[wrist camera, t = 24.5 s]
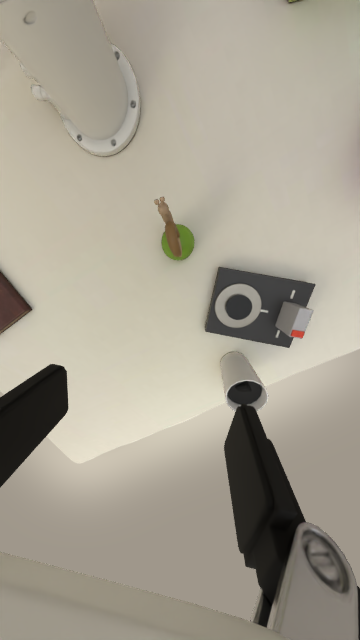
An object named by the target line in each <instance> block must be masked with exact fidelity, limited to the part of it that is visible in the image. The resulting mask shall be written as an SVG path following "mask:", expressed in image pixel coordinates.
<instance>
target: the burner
mask: <svg viewBox="0 0 360 640" xmlns="http://www.w3.org/2000/svg"><path fill="white" fill-rule="evenodd" d="M260 310H261V298H260V295H259V294H258V292H257V291H256V290H255V289H254V288H253V287H251V286H249V285H246V284H241V283H237V284H232V285H229V286H227V287H226V288H224V289H223V290H222V291H221V292H220V293H219V295H218V296H217V298H216V301H215V313H216V315H217V317H218V319H219V320H220V321H221V322H222V323H223V324H224V325H226V326H229V327H232V328H241V327H244V326H247V325H249V324H251V323H252V322H253V321H254V320H255V319H256V318H257V317H258V315H259V313H260Z"/></svg>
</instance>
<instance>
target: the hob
mask: <svg viewBox="0 0 360 640" xmlns="http://www.w3.org/2000/svg"><path fill="white" fill-rule="evenodd" d="M237 283H241V284H246V285H249V286H251V287H253V288H254V289H255V290H256V291H257V292H258V294H259V295H260V298H261V310H260V313H259V315H258V317H257V318H256V319H255V320H254V321H253V322H252V323H251V324H249V325H247V326H244V327H241V328H232V327H229V326H226V325H224V324H223V323H222V322H221V321H220V320H219V319H218V317H217V315H216V313H215V301H216V298H217V296H218V295H219V293H220V292H221V291H222V290H223V289H224V288H226V287H227V286H229V285H232V284H237ZM314 287H315V284H312V283H307V282H301V281H295V280H290V279H284V278H279V277H273V276H267V275H262V274H256V273H250V272H245V271H239V270H233V269H228V268H222V267H219V268H218V272H217V277H216V281H215V285H214V290H213V294H212V298H211V303H210V307H209V312H208V316H207V320H206V325H205V331H206V332H210V333H215V334H221V335H226V336H231V337H236V338H241V339H246V340H251V341H257V342H262V343H267V344H272V345H277V346H282V347H287V348H289V347H290V345H291V342H292V340H293V338H294V337H289V336H288V335H286V334H285V333H284V332H283V331H281V330H280V329H279V328H277V327H276V326H275V325H276V322H277V319H278V316H279V313H280V311H281V308H282V305H283V302H290V303H295V304H298V305H301V306H303V307H306V306H307V304H308V301H309V299H310V296H311V294H312V292H313V289H314ZM309 321H310V320H309Z"/></svg>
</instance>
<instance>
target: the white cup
mask: <svg viewBox="0 0 360 640" xmlns="http://www.w3.org/2000/svg"><path fill="white" fill-rule="evenodd" d="M220 366H221V373H222V379H223V386H224V393H225V399H226V402H227V405H228V406H229V407H230V408H231V409H232V410H234V411H236V409H237V407H238V406H241V405H242V404H245V405H249V406H253V407H254V408H255V409H256V412H257V411H258V410H260V409H262V408H263V407H264V405H265V404H266V403H267V399H268V393H267V390H266V388H265V387H264V385H263V383H262V382H261V380H260V379H259V377H258V376H257V374H256V372H255V371H254V369H253V368H252V366H251V365H250V363H249V362H248V360H247V358H246V357H245V356H244V355H243V354H241V353H239V352H231V353H227V354H226V355H225V356H223V358H222V359H221V363H220Z"/></svg>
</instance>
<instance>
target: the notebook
mask: <svg viewBox="0 0 360 640" xmlns="http://www.w3.org/2000/svg"><path fill="white" fill-rule="evenodd" d="M31 310H32V309H31V308H30V307H29V306H28V304H27V303H26V302H25V301H24V300H23V298H22V297H21V296H20V295H19V294H18V292H17V291H16V290H15V289H14V288H13V286H12V285H11V284H10V283H9V282H8V280H7V279H6V278H5V277H4V276H3V274H2V273H1V272H0V334H1V333H2V332H4V331H5V330H6V329H8V328H9V327H10V326H12V325H13V324H14V323H15V322H17V321H18V320H19V319H21V318H22V317H23V316H25V315H26V314H27V313H29V312H30V311H31Z"/></svg>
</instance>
